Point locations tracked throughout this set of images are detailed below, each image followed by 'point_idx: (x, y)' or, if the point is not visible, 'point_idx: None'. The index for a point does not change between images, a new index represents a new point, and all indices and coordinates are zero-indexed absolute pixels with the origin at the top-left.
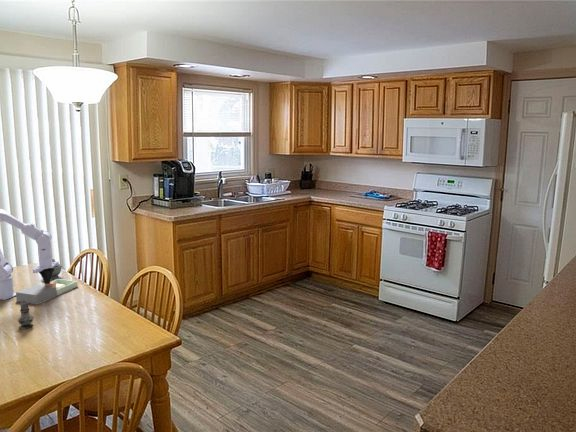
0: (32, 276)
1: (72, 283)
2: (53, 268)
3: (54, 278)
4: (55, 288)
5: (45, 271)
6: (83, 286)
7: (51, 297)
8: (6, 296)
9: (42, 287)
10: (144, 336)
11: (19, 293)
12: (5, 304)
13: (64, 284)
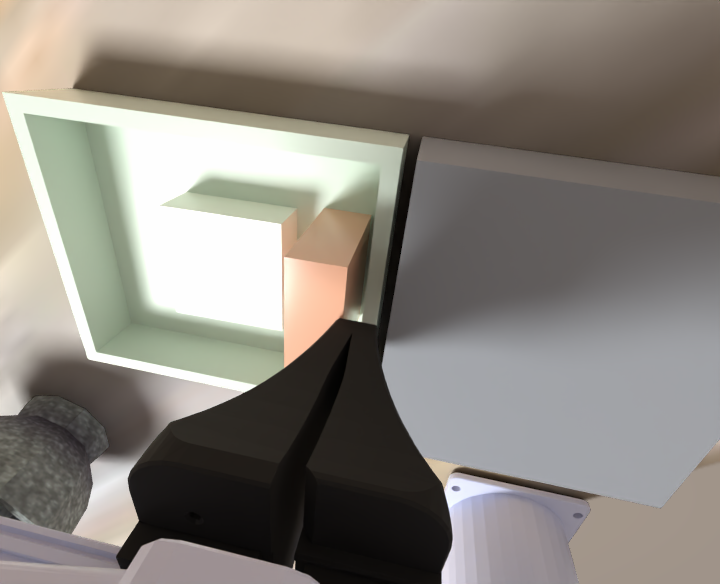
0: (121, 525)
1: (94, 104)
2: (135, 483)
3: (68, 409)
4: (426, 158)
5: (420, 552)
6: (18, 14)
7: (510, 149)
8: (554, 519)
9: (459, 339)
10: None
11: (683, 467)
12: (702, 461)
13: (160, 210)
